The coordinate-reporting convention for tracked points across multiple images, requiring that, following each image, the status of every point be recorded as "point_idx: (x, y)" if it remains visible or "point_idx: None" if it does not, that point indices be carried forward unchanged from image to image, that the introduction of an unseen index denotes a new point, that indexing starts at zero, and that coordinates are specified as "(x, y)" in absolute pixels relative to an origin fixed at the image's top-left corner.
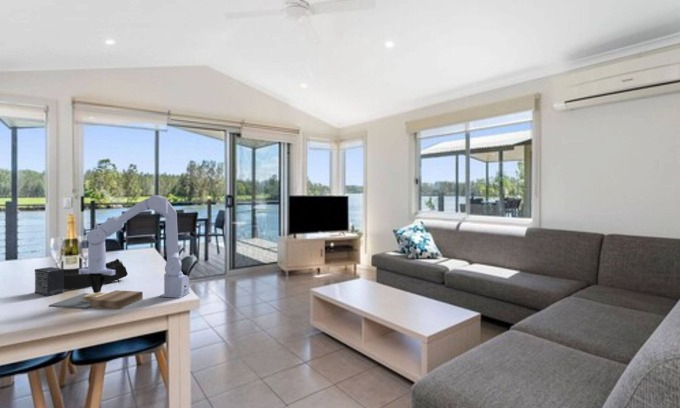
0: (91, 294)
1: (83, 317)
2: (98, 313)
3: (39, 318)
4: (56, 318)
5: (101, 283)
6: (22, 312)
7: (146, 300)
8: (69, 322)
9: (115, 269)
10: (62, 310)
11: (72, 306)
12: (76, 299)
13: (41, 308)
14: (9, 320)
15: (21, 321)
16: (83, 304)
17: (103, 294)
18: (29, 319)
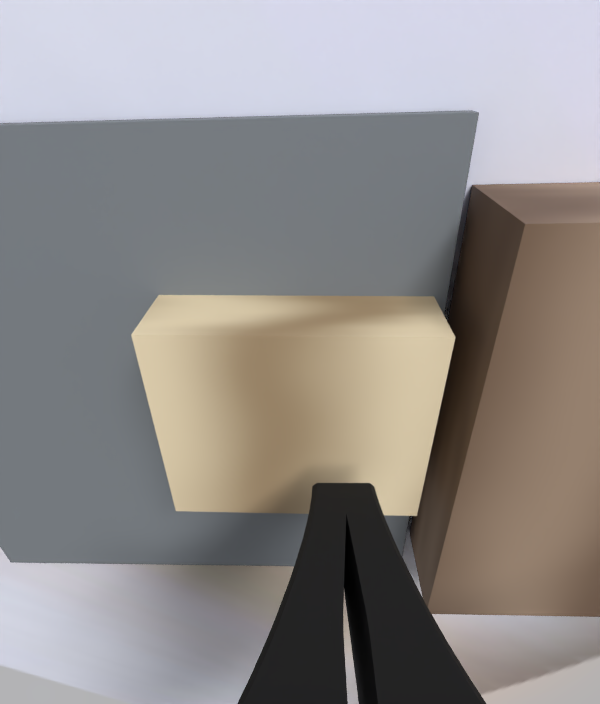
0: (204, 437)
1: (514, 651)
2: None
3: (249, 674)
4: (351, 669)
5: (416, 643)
6: (18, 633)
7: None
8: (483, 691)
9: None
10: (239, 593)
11: (254, 564)
12: (46, 421)
13: (30, 582)
14: (124, 694)
15: (203, 697)
16: (302, 522)
17: (389, 411)
18: (210, 683)
